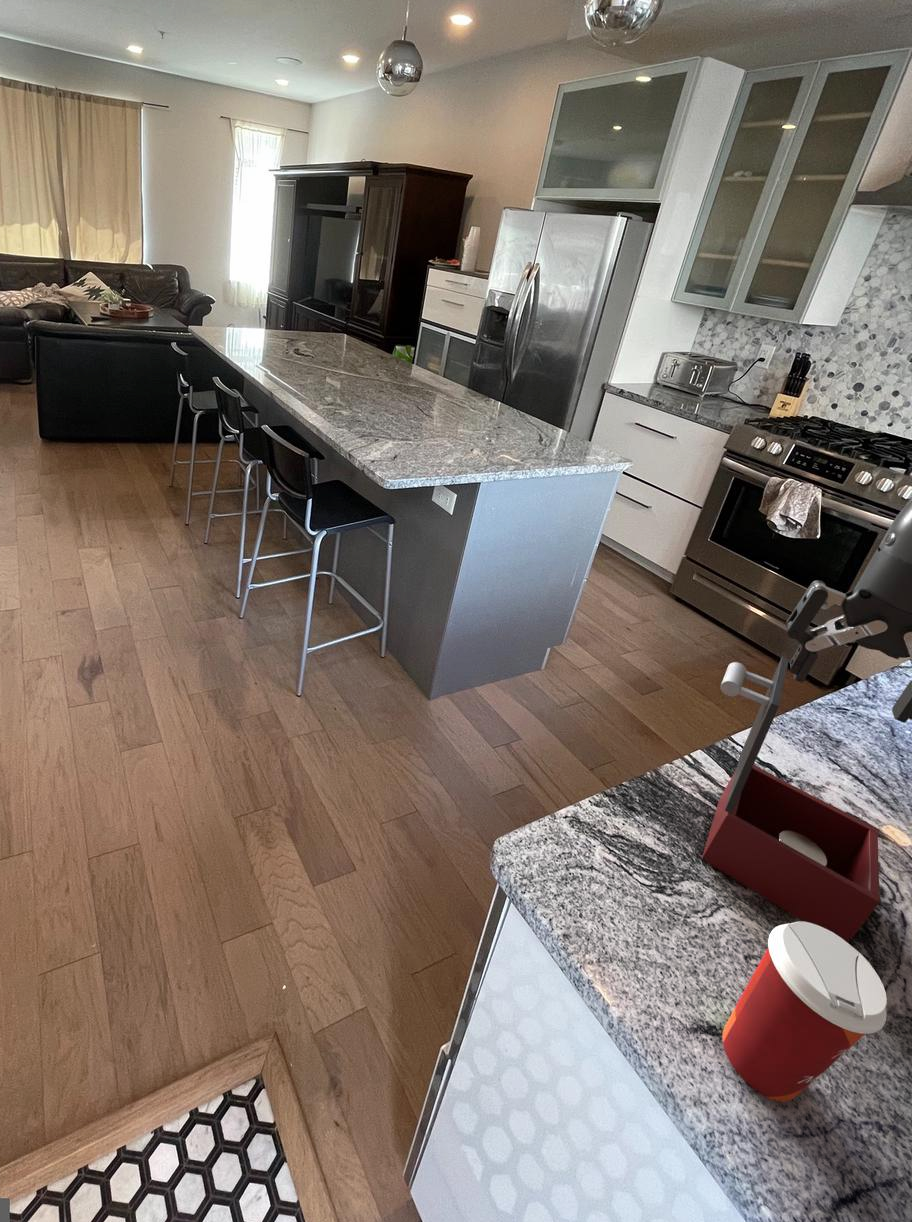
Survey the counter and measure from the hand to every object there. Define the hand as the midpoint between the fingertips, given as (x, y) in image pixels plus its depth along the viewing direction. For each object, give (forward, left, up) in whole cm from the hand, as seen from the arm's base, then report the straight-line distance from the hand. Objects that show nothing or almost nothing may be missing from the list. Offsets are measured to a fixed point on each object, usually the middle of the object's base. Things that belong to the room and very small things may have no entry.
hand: (845, 696), depth 63 cm
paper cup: (-4, +24, -24) cm, 34 cm away
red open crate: (-3, 0, -24) cm, 24 cm away
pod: (-4, 0, -23) cm, 23 cm away
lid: (+4, 0, -8) cm, 10 cm away
